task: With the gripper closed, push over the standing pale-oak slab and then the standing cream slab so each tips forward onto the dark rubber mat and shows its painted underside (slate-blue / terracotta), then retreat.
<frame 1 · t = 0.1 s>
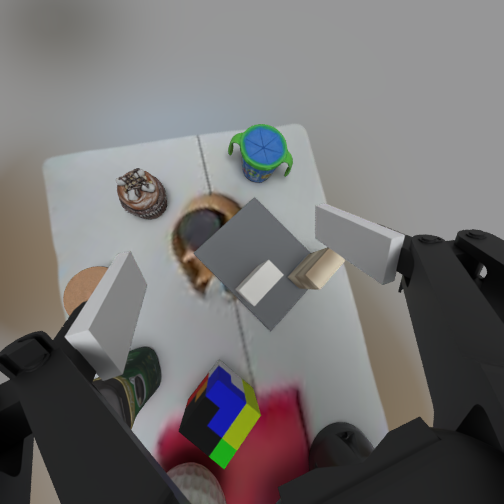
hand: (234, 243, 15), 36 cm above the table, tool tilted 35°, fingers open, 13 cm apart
puzzle toy: (221, 392, 46), on the table
snack cup: (256, 170, 55), on the table
vase: (188, 482, 42), on the table
oak slab: (302, 271, 52), resting on mat
mat: (262, 261, 51), on the table
coffee jar: (141, 370, 44), on the table
lidded jar: (116, 293, 46), on the table
cream slab: (252, 283, 50), resting on mat
cupcake: (150, 203, 50), on the table
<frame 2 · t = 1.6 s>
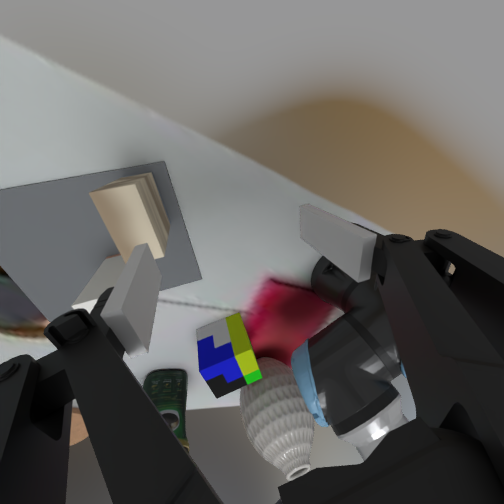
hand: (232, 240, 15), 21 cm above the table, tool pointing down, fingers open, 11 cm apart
puzzle toy: (224, 334, 49), on the table
vase: (261, 364, 58), on the table
oak slab: (148, 201, 31), resting on mat
mat: (103, 247, 33), on the table
coffee jar: (166, 378, 50), on the table
lidded jar: (77, 387, 43), on the table
cream slab: (130, 273, 35), resting on mat
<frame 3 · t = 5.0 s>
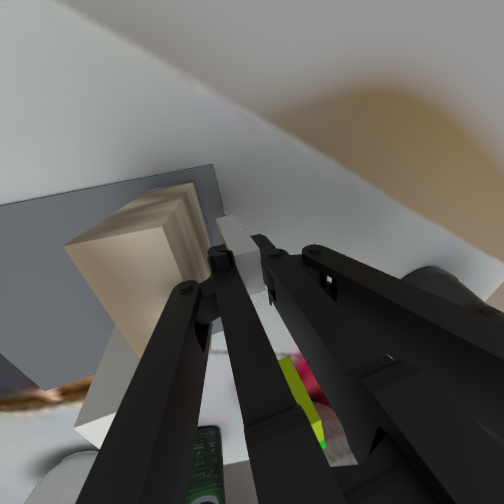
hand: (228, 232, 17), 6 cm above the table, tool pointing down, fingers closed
puzzle toy: (268, 381, 38), on the table
vase: (305, 410, 47), on the table
oak slab: (186, 225, 21), point 1 cm above the table, tilted 8°, touching gripper, mat
mat: (119, 289, 23), on the table
coffee jar: (194, 437, 39), on the table
lidded jar: (83, 459, 33), on the table
cream slab: (156, 322, 25), resting on mat
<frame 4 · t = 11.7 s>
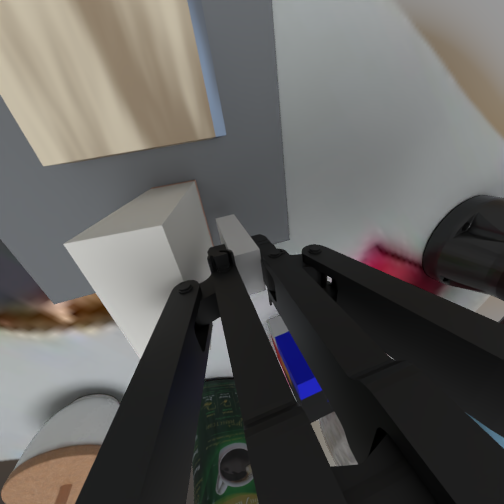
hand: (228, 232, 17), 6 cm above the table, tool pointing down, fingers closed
puzzle toy: (300, 328, 34), on the table
vase: (334, 370, 43), on the table
oak slab: (210, 73, 15), point 2 cm above the table, tilted 90°, touching mat
mat: (146, 169, 18), on the table
coffee jar: (217, 390, 35), on the table
lidded jar: (95, 406, 29), on the table
cream slab: (187, 224, 21), point 1 cm above the table, tilted 9°, touching mat
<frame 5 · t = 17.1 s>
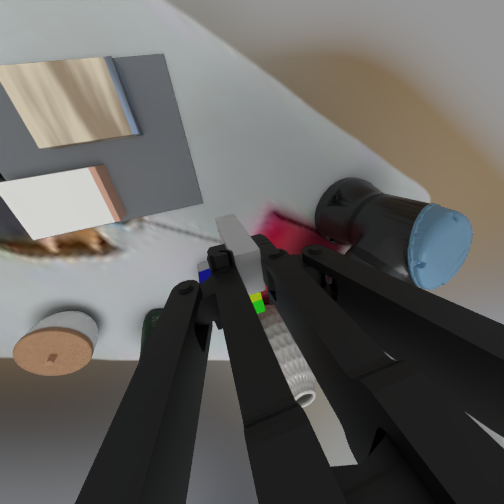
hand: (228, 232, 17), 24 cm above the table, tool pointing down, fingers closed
puzzle toy: (226, 273, 47), on the table
vase: (263, 314, 56), on the table
oak slab: (129, 100, 28), point 2 cm above the table, tilted 90°, touching mat
mat: (100, 153, 31), on the table
coffee jar: (167, 320, 48), on the table
lidded jar: (75, 321, 42), on the table
cream slab: (112, 192, 32), point 2 cm above the table, tilted 90°, touching mat
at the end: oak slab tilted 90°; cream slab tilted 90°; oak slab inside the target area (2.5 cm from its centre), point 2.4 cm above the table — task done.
